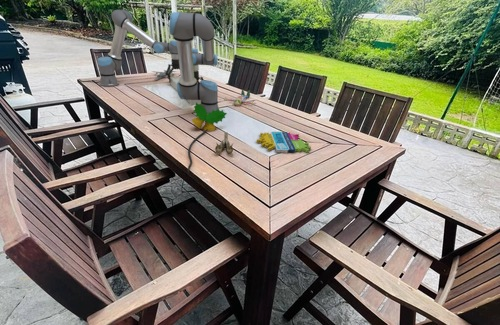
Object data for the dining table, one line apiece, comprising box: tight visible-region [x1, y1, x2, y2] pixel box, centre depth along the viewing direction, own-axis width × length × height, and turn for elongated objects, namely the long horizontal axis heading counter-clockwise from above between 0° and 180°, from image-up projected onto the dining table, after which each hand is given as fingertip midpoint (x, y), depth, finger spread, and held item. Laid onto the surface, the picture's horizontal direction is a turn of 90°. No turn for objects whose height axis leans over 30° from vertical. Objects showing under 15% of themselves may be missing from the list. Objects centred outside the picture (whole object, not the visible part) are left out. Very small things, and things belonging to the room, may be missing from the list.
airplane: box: [151, 63, 177, 81], centre depth 281 cm, size 38×31×10 cm
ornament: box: [191, 102, 228, 132], centre depth 162 cm, size 21×8×15 cm, turn 105°
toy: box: [223, 89, 257, 106], centre depth 219 cm, size 28×7×30 cm
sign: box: [256, 131, 312, 154], centre depth 152 cm, size 26×2×30 cm
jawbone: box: [214, 131, 234, 156], centre depth 136 cm, size 9×15×10 cm
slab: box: [169, 76, 201, 106], centre depth 232 cm, size 72×10×7 cm, turn 27°
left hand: (177, 82), depth 254 cm, fingers open, 13 cm apart
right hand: (194, 98), depth 210 cm, fingers open, 13 cm apart
